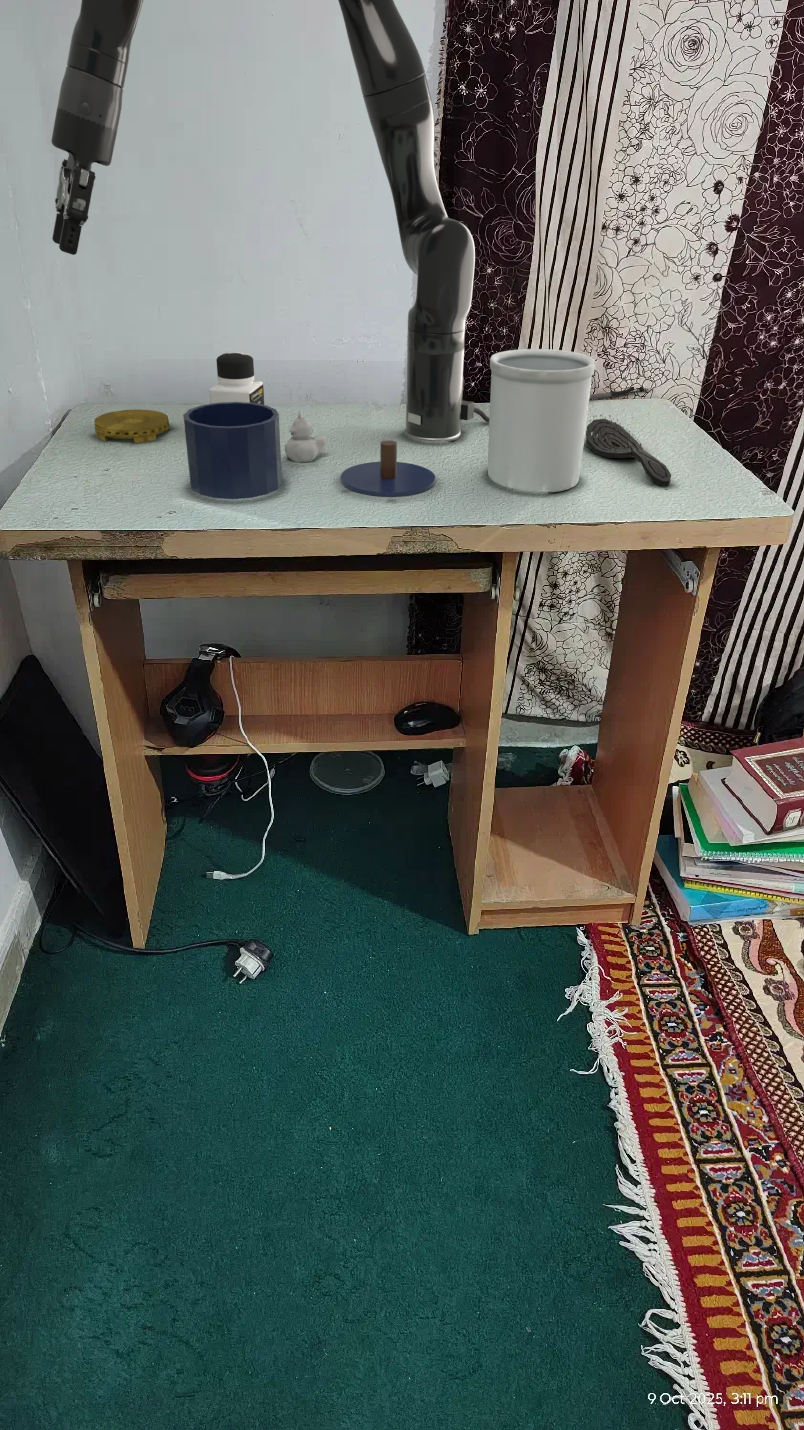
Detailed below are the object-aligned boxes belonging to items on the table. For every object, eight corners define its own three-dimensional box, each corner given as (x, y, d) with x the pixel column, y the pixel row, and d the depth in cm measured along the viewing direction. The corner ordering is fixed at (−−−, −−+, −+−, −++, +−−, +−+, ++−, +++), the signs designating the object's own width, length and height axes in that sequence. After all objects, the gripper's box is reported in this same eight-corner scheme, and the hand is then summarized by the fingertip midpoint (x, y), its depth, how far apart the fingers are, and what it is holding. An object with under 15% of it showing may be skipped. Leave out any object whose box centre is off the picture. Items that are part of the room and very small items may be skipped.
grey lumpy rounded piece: (282, 458, 155) (279, 406, 151) (323, 455, 157) (321, 404, 153) (289, 469, 151) (286, 416, 146) (331, 465, 152) (330, 413, 148)
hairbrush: (643, 470, 145) (577, 414, 164) (639, 493, 147) (574, 436, 166) (694, 466, 147) (623, 412, 166) (689, 490, 149) (619, 434, 168)
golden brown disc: (180, 425, 169) (178, 412, 168) (153, 445, 159) (151, 432, 158) (114, 420, 171) (112, 407, 170) (83, 440, 161) (81, 427, 160)
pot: (228, 467, 151) (223, 397, 145) (298, 482, 146) (296, 410, 140) (172, 491, 141) (164, 418, 136) (244, 509, 136) (239, 433, 130)
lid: (372, 463, 154) (372, 423, 150) (451, 479, 148) (453, 438, 145) (322, 489, 143) (321, 447, 140) (406, 507, 138) (406, 464, 134)
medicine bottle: (252, 435, 165) (248, 361, 159) (212, 431, 166) (206, 358, 160) (265, 423, 171) (262, 351, 165) (226, 420, 172) (221, 348, 166)
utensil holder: (466, 469, 152) (472, 351, 143) (549, 459, 157) (561, 344, 148) (512, 500, 141) (522, 374, 131) (600, 488, 146) (616, 366, 137)
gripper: (126, 131, 123) (99, 265, 129) (109, 126, 134) (85, 250, 141) (64, 106, 119) (39, 246, 126) (52, 103, 130) (30, 232, 137)
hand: (63, 248), depth 133 cm, fingers open, 8 cm apart
